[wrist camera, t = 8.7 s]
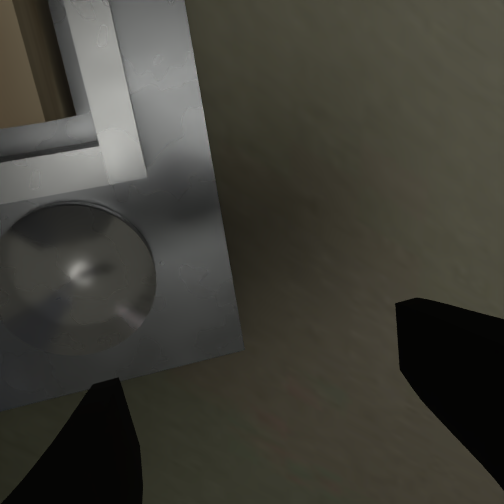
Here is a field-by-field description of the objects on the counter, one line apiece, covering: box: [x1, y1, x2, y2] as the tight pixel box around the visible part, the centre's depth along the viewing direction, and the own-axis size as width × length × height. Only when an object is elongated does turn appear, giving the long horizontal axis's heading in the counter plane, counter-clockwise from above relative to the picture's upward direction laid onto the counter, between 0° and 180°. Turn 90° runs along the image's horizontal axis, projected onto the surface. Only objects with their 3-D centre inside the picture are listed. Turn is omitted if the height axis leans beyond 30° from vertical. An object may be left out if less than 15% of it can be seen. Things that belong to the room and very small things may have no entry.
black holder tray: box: [0, 0, 245, 411], centre depth 16 cm, size 12×20×4 cm, turn 8°
